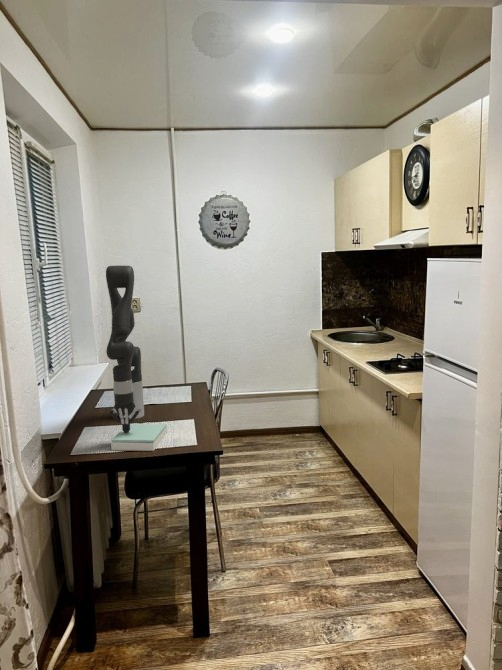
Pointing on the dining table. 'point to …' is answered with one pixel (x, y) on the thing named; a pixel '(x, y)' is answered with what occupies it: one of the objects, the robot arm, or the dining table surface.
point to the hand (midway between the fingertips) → (126, 431)
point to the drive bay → (139, 444)
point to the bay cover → (140, 433)
